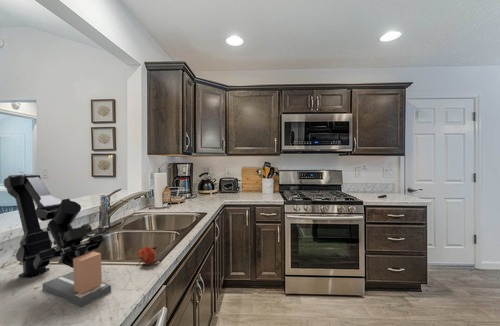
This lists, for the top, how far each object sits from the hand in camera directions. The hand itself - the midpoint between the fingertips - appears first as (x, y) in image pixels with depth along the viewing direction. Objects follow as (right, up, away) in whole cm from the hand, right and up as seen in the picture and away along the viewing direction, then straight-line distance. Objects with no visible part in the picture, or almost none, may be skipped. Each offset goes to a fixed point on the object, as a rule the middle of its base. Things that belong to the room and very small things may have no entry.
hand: (83, 271), depth 75 cm
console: (-3, -7, +2) cm, 8 cm away
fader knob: (+2, -5, -1) cm, 5 cm away
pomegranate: (+11, -7, +21) cm, 24 cm away
